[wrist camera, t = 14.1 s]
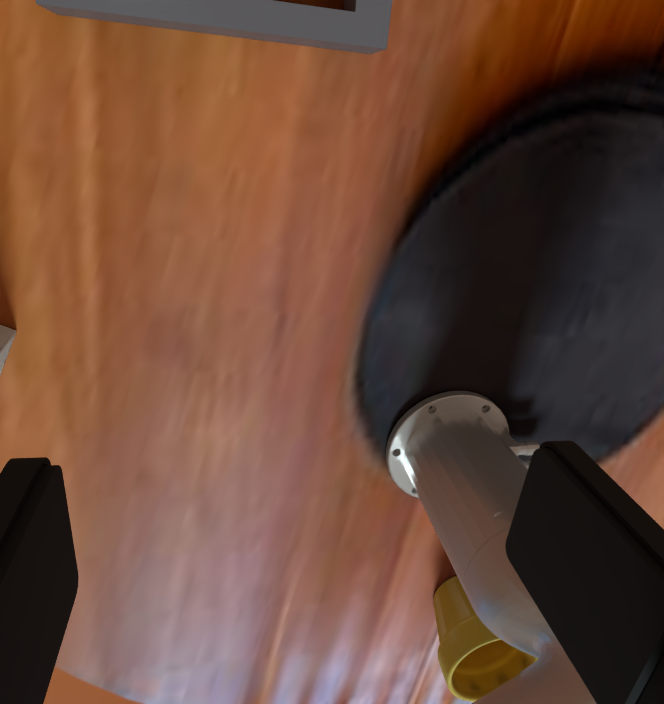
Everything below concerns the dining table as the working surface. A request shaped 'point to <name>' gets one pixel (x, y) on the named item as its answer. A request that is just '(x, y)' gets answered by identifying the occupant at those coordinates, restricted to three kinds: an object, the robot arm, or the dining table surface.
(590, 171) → the dining table surface
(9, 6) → the dining table surface
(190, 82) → the dining table surface
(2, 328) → the supplement box
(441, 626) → the plant pot
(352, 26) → the power strip
